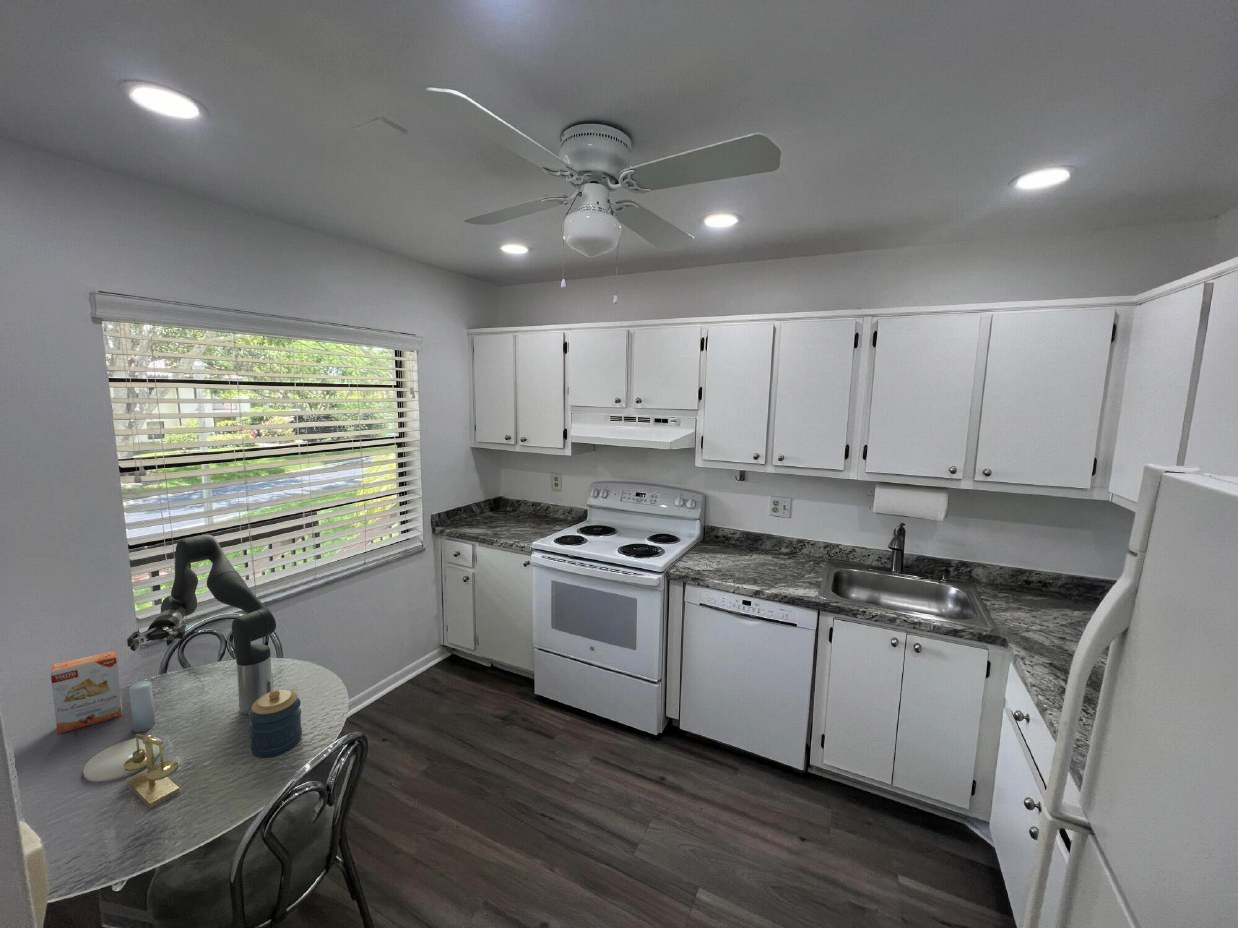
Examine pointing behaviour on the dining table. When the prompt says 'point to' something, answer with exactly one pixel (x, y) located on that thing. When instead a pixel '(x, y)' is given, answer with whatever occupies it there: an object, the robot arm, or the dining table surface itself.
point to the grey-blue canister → (142, 706)
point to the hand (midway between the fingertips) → (150, 645)
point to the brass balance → (151, 773)
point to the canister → (275, 723)
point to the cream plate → (114, 761)
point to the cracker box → (86, 691)
